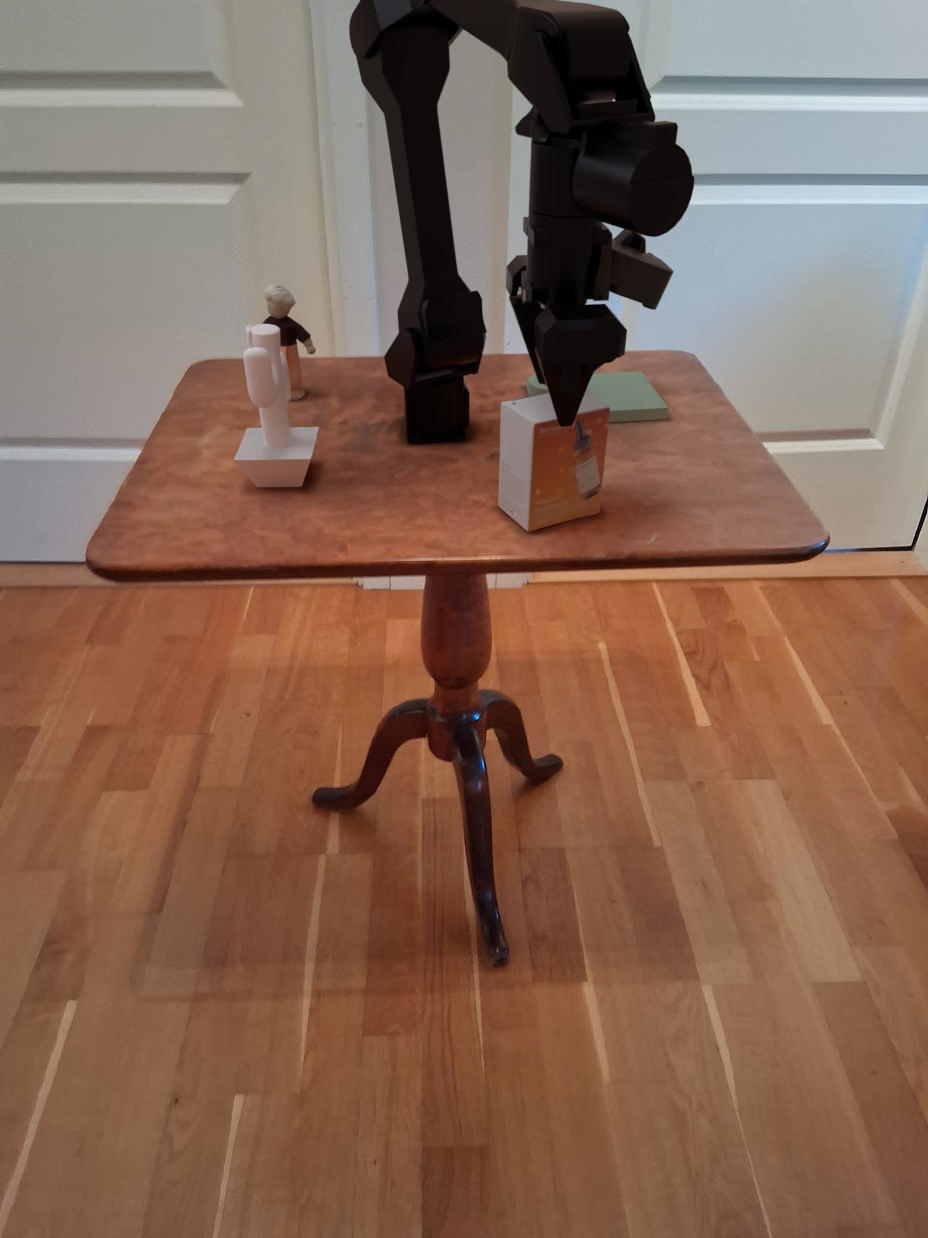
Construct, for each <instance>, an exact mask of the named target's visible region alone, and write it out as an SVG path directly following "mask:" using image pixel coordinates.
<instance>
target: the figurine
mask: <svg viewBox="0 0 928 1238" xmlns="http://www.w3.org/2000/svg"><path fill="white" fill-rule="evenodd" d="M245 334H246V342H247V348H246V349H245V350H244V352H243V356H242V358H243V359H242V361H243V365H244V372H245V380H246V386H247V391H248V396H249V398H250V400H251V403H252V404H253V405H254V406H255V407H257V408H258V412H259V413H258V414H259V418H260V426H261V427H246V430H245V432H244V435H243V436H242V439H241V442H240V444H239V447H238V449H237V452H236V454H235V456H234V458H233V461H234V462H235V464H236V465H237V466H238V467H239V468H240V470H242V471H243V473H244V474H245V475H246V477H248V478H249V480H250V481H251V482H252V483H253V484H254V486H255V487H256V488H302V487H303V485H304V481H305V478H306V475H307V472H308V469H309V466H310V463H311V459H312V456H313V453H314V449H315V445H316V441H317V437H318V434H319V430H320V426H291V425H290V419H289V409H288V404H287V403H288V402H290V401H292V400H291V386H290V378H289V369H288V364H287V360H286V357H285V356H284V354H283V353H282V352H281V351H280V328H279V327H277V326H275V325H272V324H262V323H260V324H255V323H250V324H248V325H247V326H246V327H245Z"/></svg>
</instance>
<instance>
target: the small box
mask: <svg viewBox="0 0 928 1238" xmlns="http://www.w3.org/2000/svg"><path fill="white" fill-rule="evenodd" d="M609 413H610V408H609V407H608V406H607V405H605V404H604V403H602V402H601V401H599V400H597V399H596V398H594V397H593V396H591V395H589V394H588V393H586V392H585V394H584V397H583V399H582V402H581V405H580V407H579V410H578V413H577V415H576V418H575V420H574V423H573V425H572V426H568V427H561V426H559V424H558V421H557V418H556V414H555V411H554V408H553V405H552V402H551V399H550V396H549V393H547V394H542V395H537V396H533V397H524V398H523V397H522V398H519V399H513V400H505V401H502V402H501V403H500V424H499V425H500V427H499V470H498V499H497V500H498V501H497V502H498V503H497V505H498V507H499V508H500V509H501V510H502V511H503V512H504V513H505V514H507V515H508V516H509V517H510V518H511V519H512V520H513V521H515V522H516V523H517V524H518V525H519V526H520V527H522V528H523V529H524V530H525V531H526V532H528V533H529V532H533V531H536V530H538V529H542V528H545V527H549V526H554V525H556V524H561V523H564V522H569V521H572V520H575V519H576V520H577V519H580V518H584V517H588V516H593V515H597V514H599V513H600V511H601V510H600V509H601V502H602V501H601V500H602V491H603V480H604V472H605V471H604V469H605V461H606V454H607V453H606V451H607V441H608V433H609V424H610V422H609Z"/></svg>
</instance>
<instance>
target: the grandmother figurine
mask: <svg viewBox="0 0 928 1238" xmlns="http://www.w3.org/2000/svg"><path fill="white" fill-rule="evenodd" d="M263 295H264V300H265V302H266V310H267V312H268V314H269V316H268V317H267V318H265V320H263V322H262V323H261V324H272V325H275V326H277V327H279V328H280V351H281V352H282V353H283V354H284V356H285V357H286V360H287V364H288V369H289V378H290V386H291V400H290V401H298V400H301V399H303V397H304V396H305V395H306V391H305V389H304V388H303V381H302V380H303V379H302V366H301V365H302V364H301V359H300V354H299V349H298V342H300V343H301V344H302V345H303V346H304V347H305V348H306V352H307V354H308V355H314V354H315V353H316V351H317V349H316V347H315V346H314V343H313V340H312V338H311V337H312V335H311V334H310V332H308V330H307V329H306V328H305V327H303V325H301V323H299V322H298V321H296V320H295V319H293V318H291V316H289V314H290V312H291V309H293V307H294V306H295V305H297V302H296V299H295V298H294V296H293V294H292V292H290V290H288V289H287V288H286V287H285V286H284V285H281V284H271V285H268V286H267V287H266V288H265V289H264V294H263Z"/></svg>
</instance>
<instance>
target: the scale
mask: <svg viewBox="0 0 928 1238" xmlns="http://www.w3.org/2000/svg"><path fill="white" fill-rule="evenodd" d="M525 388H526V390H527V394H528V396H529V397H533V396H537V395H542V394H547V393H549V392H548V389H547V386H546V385H544V384H540V383H539V382H538V379H537V377H536V374H535V373H534V374H532V375H531V376H526V386H525ZM586 393H588V394H589V395H591V396H593V397H594V398H596V399H597V400H599V401H601V402H602V403H604V404H605V405H607V406H608V407H609V408H610V413H609V423H625V422H626V423H627V422H641V421H642V422H644V421H660V420H661V421H662V420H668V415H669V406H668V405H667V404H666V402H665V401H664V399H663V398H662V397H661V395H660V394H659V393H658V391H657V390H656V388H654V386H653V385H652V383H651V382H650V381H649V379H648V378H647V377H646V375H645V374H644V373H643V372H642V371H641V370H639V371H637V370H636V371H620V372H602V373H601V372H599V373H598V372H597V373H593V375H592V377H591V380H590V382H589V384H588V387H587V389H586Z"/></svg>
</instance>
